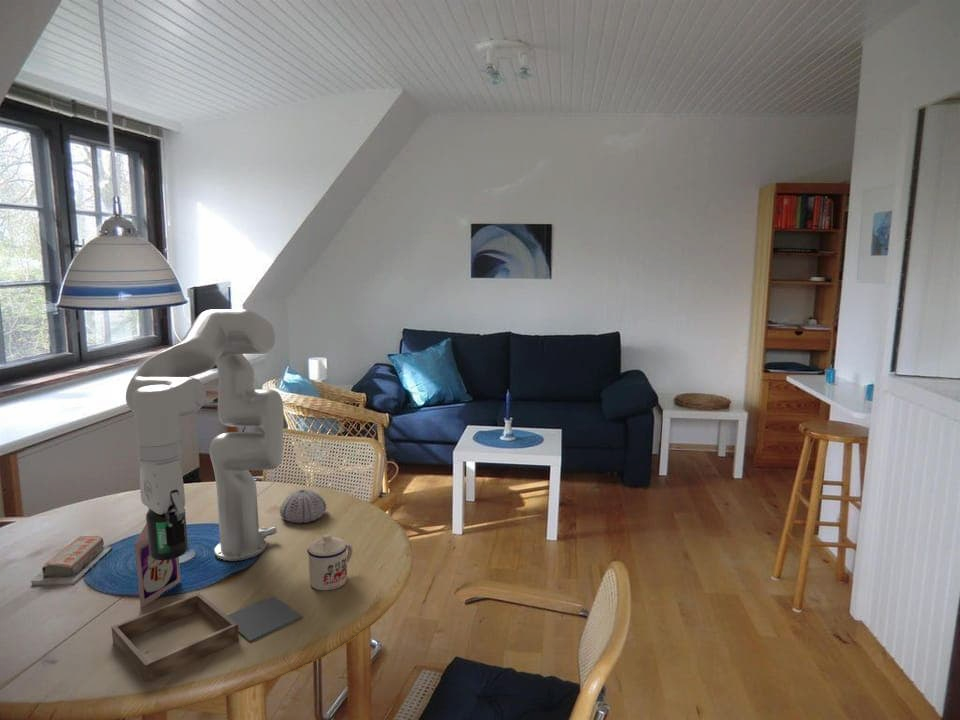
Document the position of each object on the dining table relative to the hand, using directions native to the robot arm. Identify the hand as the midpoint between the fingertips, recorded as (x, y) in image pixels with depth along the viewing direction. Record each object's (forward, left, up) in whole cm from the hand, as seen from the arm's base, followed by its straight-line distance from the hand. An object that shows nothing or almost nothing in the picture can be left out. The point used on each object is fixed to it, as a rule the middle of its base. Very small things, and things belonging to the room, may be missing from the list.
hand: (167, 537), depth 127 cm
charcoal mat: (-16, +5, -22) cm, 28 cm away
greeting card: (-4, -23, -23) cm, 32 cm away
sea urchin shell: (-51, -35, -23) cm, 66 cm away
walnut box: (0, 0, -22) cm, 22 cm away
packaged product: (+4, -50, -23) cm, 55 cm away
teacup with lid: (-36, +2, -23) cm, 42 cm away
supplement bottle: (0, 0, -4) cm, 4 cm away
